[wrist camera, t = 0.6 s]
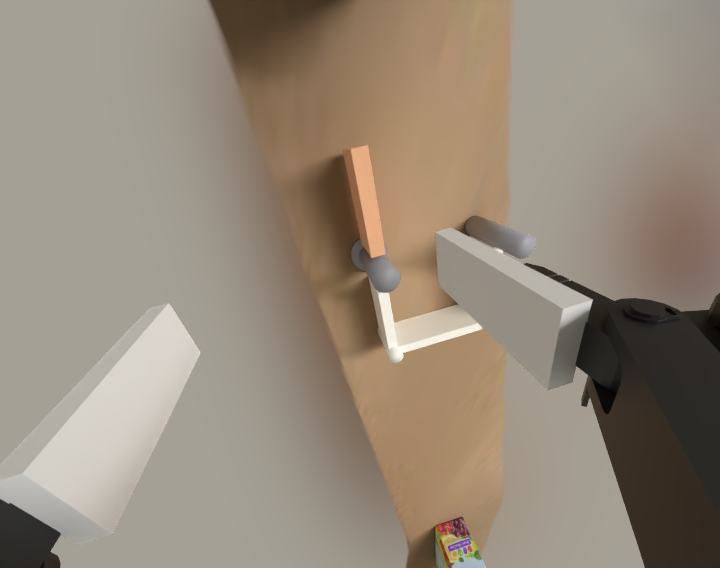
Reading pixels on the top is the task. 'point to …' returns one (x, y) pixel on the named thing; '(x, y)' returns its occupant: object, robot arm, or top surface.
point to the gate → (369, 220)
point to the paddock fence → (447, 319)
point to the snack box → (456, 546)
